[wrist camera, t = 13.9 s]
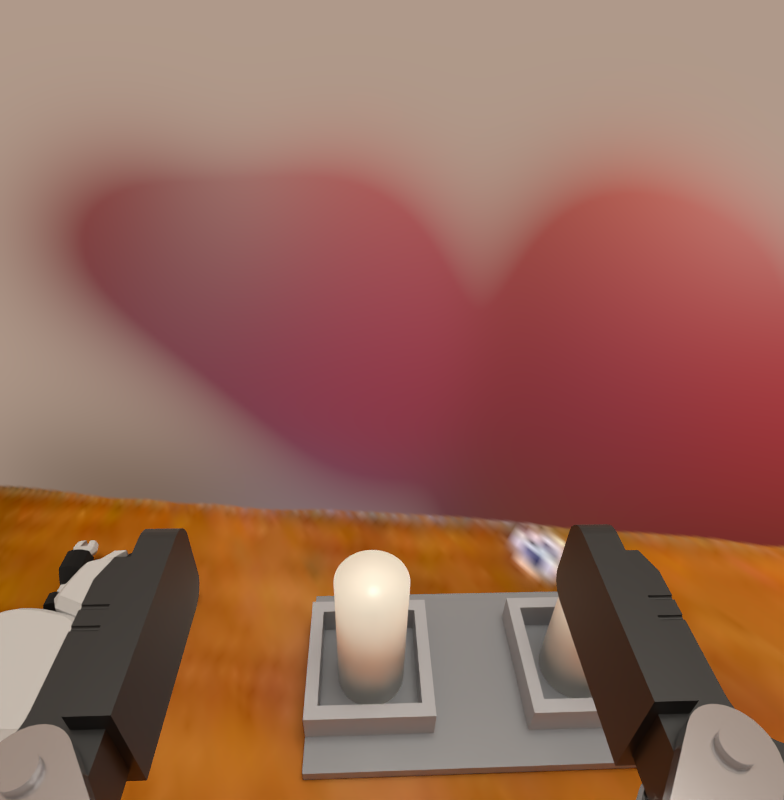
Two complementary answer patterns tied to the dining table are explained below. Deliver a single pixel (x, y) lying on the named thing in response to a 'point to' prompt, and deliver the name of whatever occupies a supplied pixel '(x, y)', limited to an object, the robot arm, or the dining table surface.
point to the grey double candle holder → (458, 694)
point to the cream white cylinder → (371, 625)
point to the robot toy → (42, 634)
